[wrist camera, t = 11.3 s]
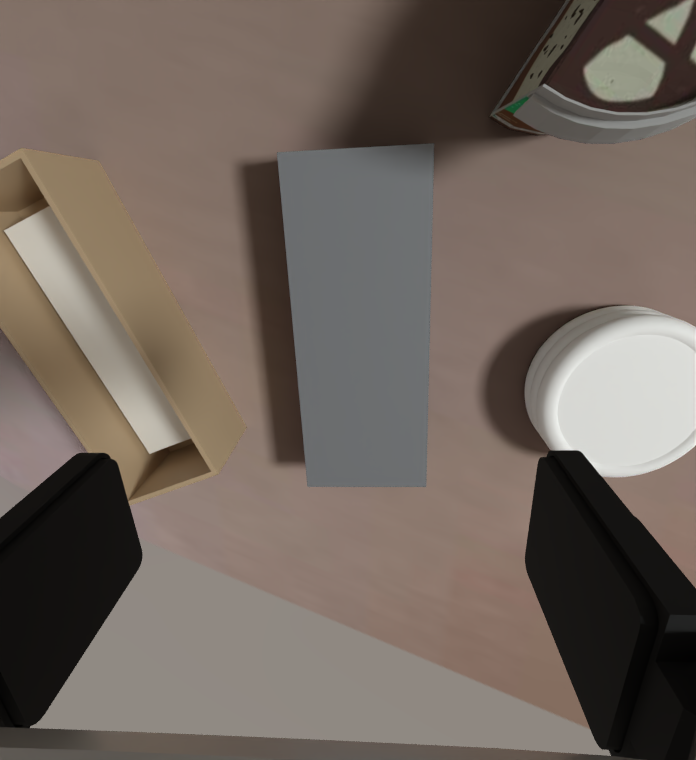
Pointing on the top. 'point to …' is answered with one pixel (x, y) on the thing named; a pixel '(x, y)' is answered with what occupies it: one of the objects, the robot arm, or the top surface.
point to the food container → (607, 73)
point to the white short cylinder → (617, 389)
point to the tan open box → (106, 327)
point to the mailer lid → (361, 309)
